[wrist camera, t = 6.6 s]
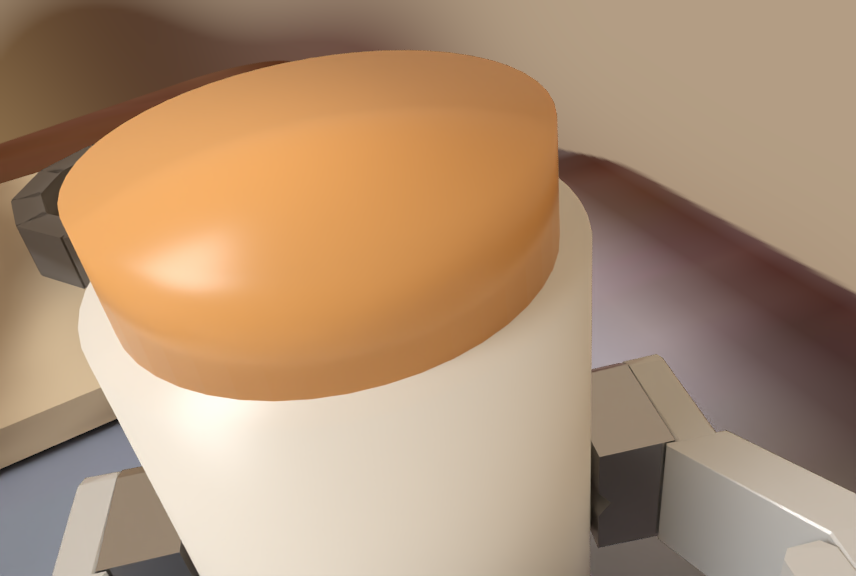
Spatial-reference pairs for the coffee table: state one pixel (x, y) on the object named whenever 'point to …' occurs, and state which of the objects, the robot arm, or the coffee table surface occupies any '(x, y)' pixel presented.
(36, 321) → the board
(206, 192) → the bottle
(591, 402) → the robot arm
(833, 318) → the coffee table surface
